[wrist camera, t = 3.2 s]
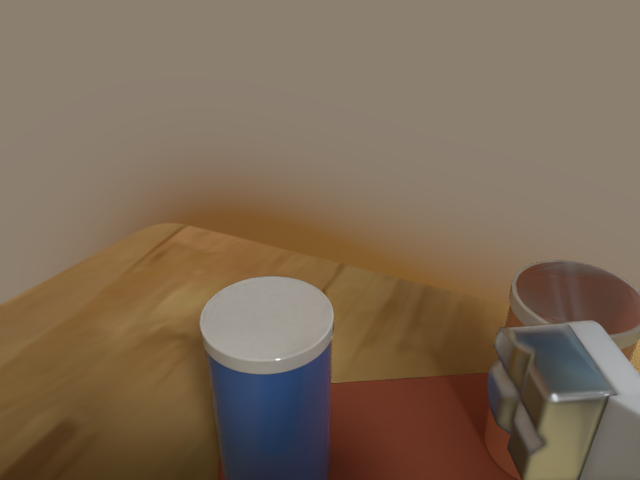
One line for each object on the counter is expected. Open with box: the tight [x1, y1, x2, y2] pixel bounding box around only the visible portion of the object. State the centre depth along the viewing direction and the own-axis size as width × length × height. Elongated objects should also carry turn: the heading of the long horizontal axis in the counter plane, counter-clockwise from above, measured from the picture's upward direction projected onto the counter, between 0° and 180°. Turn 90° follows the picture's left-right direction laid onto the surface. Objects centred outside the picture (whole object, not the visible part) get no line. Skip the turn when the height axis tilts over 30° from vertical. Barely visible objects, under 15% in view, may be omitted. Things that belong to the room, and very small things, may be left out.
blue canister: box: [199, 276, 334, 480], centre depth 28 cm, size 6×6×10 cm
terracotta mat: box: [218, 373, 518, 480], centre depth 31 cm, size 20×11×1 cm, turn 95°
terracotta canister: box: [483, 260, 640, 480], centre depth 29 cm, size 6×6×10 cm
